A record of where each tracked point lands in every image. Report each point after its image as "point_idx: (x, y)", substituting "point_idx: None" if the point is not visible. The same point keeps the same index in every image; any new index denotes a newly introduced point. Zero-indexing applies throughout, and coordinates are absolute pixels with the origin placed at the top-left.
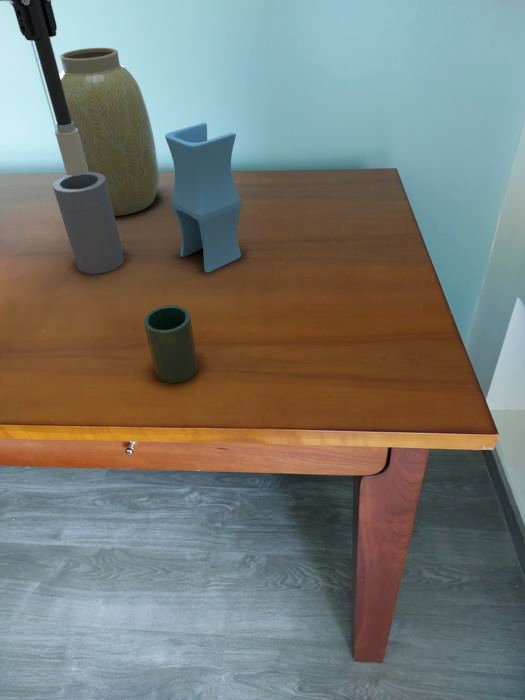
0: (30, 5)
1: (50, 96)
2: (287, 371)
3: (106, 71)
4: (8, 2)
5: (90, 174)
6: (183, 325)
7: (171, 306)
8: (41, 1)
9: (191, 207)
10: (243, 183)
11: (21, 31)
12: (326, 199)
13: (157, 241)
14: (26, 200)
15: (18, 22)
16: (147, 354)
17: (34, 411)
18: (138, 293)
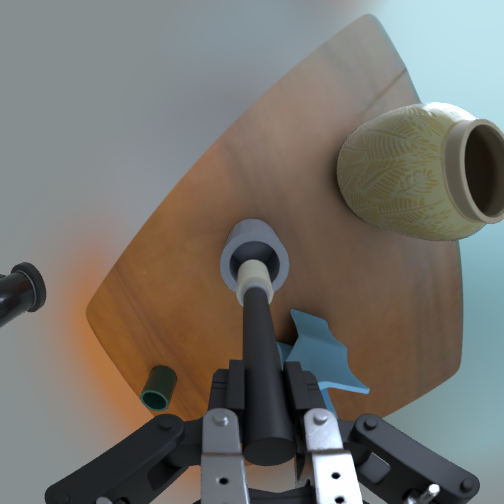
0: (240, 439)
1: (243, 315)
2: None
3: (466, 217)
4: (189, 422)
5: (280, 263)
6: (154, 410)
7: (165, 399)
8: (295, 435)
9: None
10: (439, 277)
11: (213, 376)
12: (416, 359)
13: (310, 270)
14: (333, 64)
15: (211, 388)
16: (164, 355)
17: (95, 322)
18: (220, 310)
